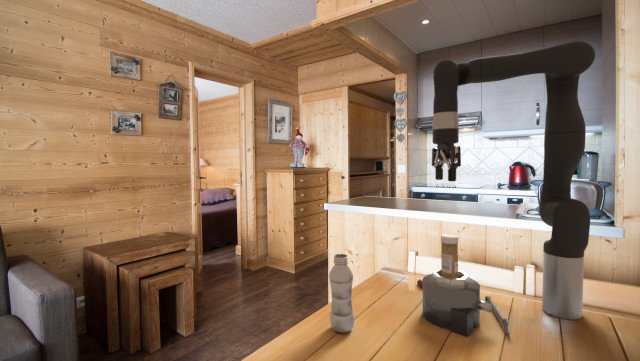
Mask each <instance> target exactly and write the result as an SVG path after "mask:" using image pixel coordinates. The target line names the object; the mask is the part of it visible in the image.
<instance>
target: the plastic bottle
mask: <svg viewBox="0 0 640 361" xmlns="http://www.w3.org/2000/svg"><path fill="white" fill-rule="evenodd" d="M348 258H349V256H348V255H347V254H345V253H337V254H334V256H333V266H332V268H331V269H330V271H329V274H328V276H329V277H328V278H329V285H330V292H331V308H330V309H331V311H330V314H329V315H330V316H329V317H330V318H329V322H330V326H331V328H332V330H333V331H335V332H337V333H349V332H351V331H352V329H353V328H354V327H355V316H354V315H355V314H354V311H353V301H352V299H353V297H352V294H353V293H352V291H353V282H354V274H353V271H352V269H351V267H349V265H348V264H349V260H348Z"/></svg>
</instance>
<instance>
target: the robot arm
mask: <svg viewBox="0 0 640 361" xmlns="http://www.w3.org/2000/svg"><path fill="white" fill-rule="evenodd" d="M595 60H596V52H595V48H594V47H593V46H592V45H591V44H590V43H588V42H586V41H581V40H573V41H569V42H565V43H561V44H558V45H554V46H550V47H547V48H542V49H536V50H531V51H526V52H521V53H513V54H506V55H495V56H486V57H478V58H473V59H470V60H469V61H467V62H464V63H463V62H462V63H456V62H455V60H452V59H449V58H446V59H443V60H440V61H439V62H437V64H436V65H435V67H434V69H433V75H432V76H433V77H432V78H433V91H434V97H433V105H432V107H433V109H432V110H433V111H432V113H433V116H432V144H434V145H436V146H437V147H432V148H431V149H432V150H431V166H432V167H433V168H434V169H435V172H434V173H435V178H434V179H435V180H437V181H442V180H444V165H445V164H446V165H447V181H448V182H456V181H457V170H458V167H461V166H462V156H461V155H462V154H461V152H462V151H461V146H460V145H455V144H458V143H459V141H460V139H459V135H460V134H459V132H460V131H459V130H460V128H459V127H460V126H459V112H458V111H459V108H458V107H459V101H458V100H459V99H458V88H459V86H460V87H461V86H466V85H470V84H481V83H482V84H483V83H491V82H493V83H494V82H501V81H505V80H509V79H513V78H518V77H524V76H529V75H537V74H544V79H545V88H546V109H545V119H544V120H545V121H544V122H545V123H544V124H545V125H544V136H543V137H544V142H543V150H544V152H543V177H542V178H543V181H542V186H541V188H542V189H541V193H540V199H539V204H538V205H539V208H538V211H539V212H538V213H539V217H540V219H541V221H542V222H543V223H544V224H546V225H548V226H549V227H552V228H551V237H550V239H547V240H545V241H544V242H543V246H542V247H543V254H542V257H543V259H542V295H541V297H542V299H541V301H542V302H541V308H542V310H543V312H545V313H546V314H548V315H551V316H553V317H556V318H560V319H564V320H571V321H572V320H580V319H582V318H583V300H584V268H585V265H584V263H585V251H586V249H587V247H588V245H589V239H590V231H591V230H590V228H591V213H590V212H591V211H590V210H589V207H588V205H587V204H585V203H584V202H583V201H582V200H579V199H577V198H576V199H575V198H572V194H571V192H572V180H573V179H572V178H573V177H574V174H575V171H576V170H577V168H578V167H579V164H580V162H581V160H582V158H583V157H584V156H583V155H584V153H585V150H586V135H587V134H586V132H587V131H586V129H587V128H586V123H585V118H584V115H583V112H582V109H581V106H580V103H579V98H578V97H579V96H578V94H579V93H578V92H579V81H580V75H582V74H583V73H585V72H586V71H588V70H589V68H590V67H591V66H592V65H593V63H594V62H595Z"/></svg>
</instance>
